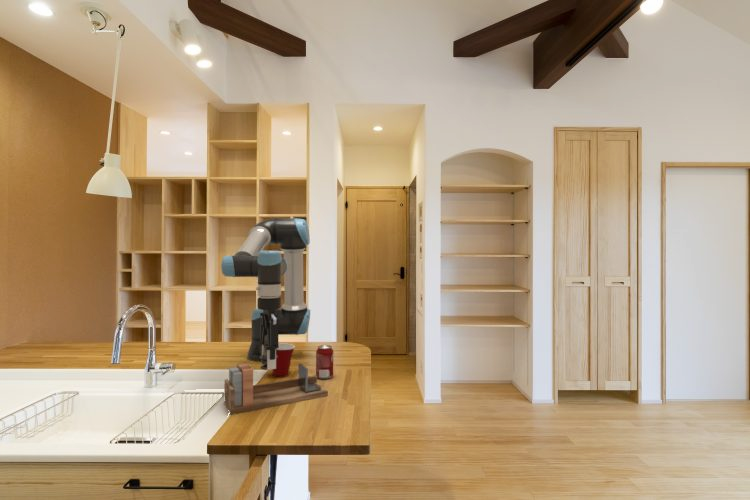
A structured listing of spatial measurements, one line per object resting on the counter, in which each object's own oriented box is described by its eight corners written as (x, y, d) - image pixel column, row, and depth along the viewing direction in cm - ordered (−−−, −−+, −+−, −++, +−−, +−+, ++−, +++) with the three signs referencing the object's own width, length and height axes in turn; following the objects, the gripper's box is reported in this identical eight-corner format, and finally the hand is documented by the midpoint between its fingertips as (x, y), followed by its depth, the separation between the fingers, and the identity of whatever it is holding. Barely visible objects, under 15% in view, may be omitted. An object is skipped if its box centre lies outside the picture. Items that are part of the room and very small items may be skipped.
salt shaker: (271, 370, 128) (271, 333, 128) (255, 369, 130) (256, 332, 130) (281, 365, 134) (281, 330, 134) (266, 364, 136) (266, 329, 136)
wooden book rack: (224, 402, 130) (224, 364, 130) (315, 386, 147) (315, 352, 147) (230, 414, 121) (231, 373, 121) (327, 395, 137) (328, 359, 137)
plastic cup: (298, 376, 157) (298, 346, 157) (270, 380, 152) (270, 349, 152) (291, 369, 167) (291, 340, 167) (265, 372, 162) (265, 343, 162)
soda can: (330, 380, 153) (330, 349, 153) (313, 379, 154) (313, 348, 154) (335, 375, 160) (335, 345, 160) (319, 373, 161) (319, 344, 161)
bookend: (298, 386, 141) (298, 363, 141) (313, 383, 144) (313, 361, 144) (305, 392, 135) (305, 368, 135) (321, 389, 138) (321, 366, 138)
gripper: (251, 294, 138) (250, 361, 138) (265, 300, 122) (265, 376, 122) (272, 293, 142) (271, 358, 142) (289, 299, 126) (288, 372, 126)
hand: (268, 366), depth 132 cm, fingers closed on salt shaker, 6 cm apart
